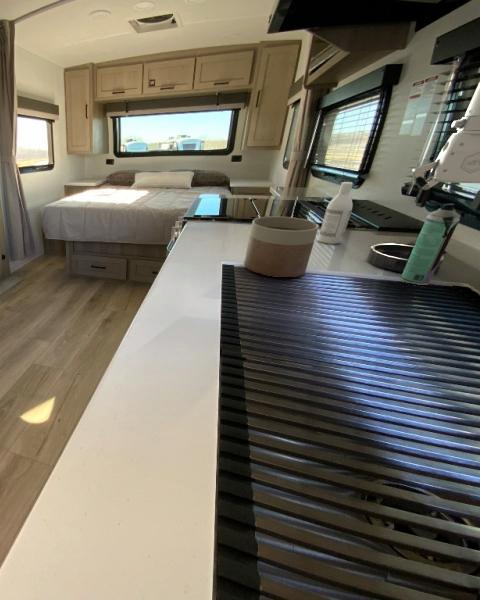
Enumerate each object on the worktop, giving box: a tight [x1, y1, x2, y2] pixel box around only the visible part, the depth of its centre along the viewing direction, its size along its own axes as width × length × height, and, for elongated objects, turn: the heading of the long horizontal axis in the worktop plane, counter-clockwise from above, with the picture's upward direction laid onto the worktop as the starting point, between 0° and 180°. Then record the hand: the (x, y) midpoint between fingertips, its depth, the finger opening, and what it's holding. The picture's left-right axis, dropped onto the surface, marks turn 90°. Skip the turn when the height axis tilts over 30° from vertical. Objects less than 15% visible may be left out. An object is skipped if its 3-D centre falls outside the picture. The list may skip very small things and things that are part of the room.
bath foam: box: [317, 181, 354, 245], centre depth 113 cm, size 7×7×20 cm
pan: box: [366, 243, 445, 273], centre depth 96 cm, size 15×15×4 cm
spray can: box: [399, 203, 461, 286], centre depth 82 cm, size 6×6×20 cm
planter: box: [243, 215, 319, 278], centre depth 94 cm, size 16×16×14 cm
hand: (446, 207), depth 78 cm, fingers open, 9 cm apart
